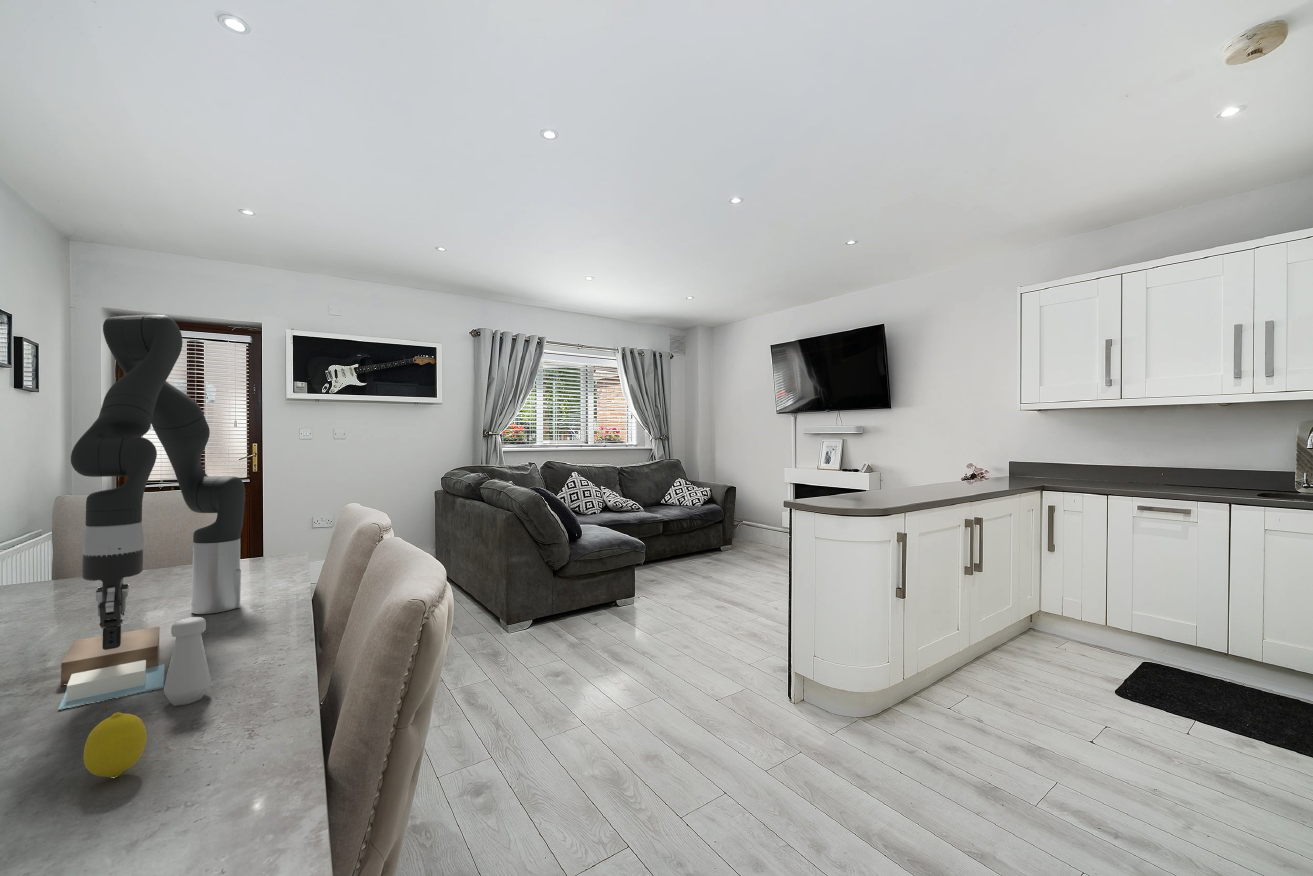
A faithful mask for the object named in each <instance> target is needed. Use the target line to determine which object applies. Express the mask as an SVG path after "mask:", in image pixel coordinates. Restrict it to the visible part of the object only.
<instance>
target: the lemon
mask: <svg viewBox="0 0 1313 876" xmlns="http://www.w3.org/2000/svg"><path fill="white" fill-rule="evenodd" d="M147 739H148V735H147V729H146V726H145V724H144V722H143V720H142V719H141V718H140V717H138V716H137V715H134V714H131V713H122V712H120V711H119V712H118V711H117V712H115V713H113V714H112V715H110V716H108V717H107V718H105V719H104V720H102V721H100V722H99V723H98V724H97V725H96V726H95V727H93V729H92V730H91V731H90V732H89V734H88V736H87V738H86V741H85V745H84V749H83V764H84V767H85V769H87V771H88V772H89V773H90V774H92V775H94V776H97V777H108V778H110V777H116V776H119V775H120V776H121V775H122V774H123V773H124V772H125V771H127V770H129V769H130V768H131V767H132V766H134V765H135V764H136V763H138V761H139V759H140V758H141V756H142V755H143V753H144V750H145V748H146V744H147V741H148V740H147ZM120 776H119V777H120Z"/></svg>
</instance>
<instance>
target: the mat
mask: <svg viewBox="0 0 1313 876" xmlns="http://www.w3.org/2000/svg"><path fill="white" fill-rule="evenodd" d="M165 668H166V667H165V664H160V665H157V666H154V667H149V668H146V676H145V685H143V686H138V687H133V688H129V689H124V690H119V691H115V692H110V693H105V694H101V695H96V696H92V697H87V698H82V699H78V700H73V701H68V702H66V699H65V698H66V697H67V689H66V690H65V693H64V694H63V697H62V699H61V701H60V704H59V706H58V708H57V711H58V710H60V709H62V708H68V707H73V706H77V705H82V704H87V703H91V702H97V701H102V700H107V699H110V698H116V697H121V698H123V697H122V696H125V695H130V696H132V695H131V694H134V695H138V694H137V693H139V694H143V693H147V692H151V691H152V690H153V691H157V690H160V689H164V686H165V683H164V681H165ZM142 692H143V693H142ZM125 697H126V696H125ZM63 698H64V699H63ZM116 699H117V698H116ZM107 701H108V700H107ZM102 702H103V701H102ZM61 707H62V708H61Z"/></svg>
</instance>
